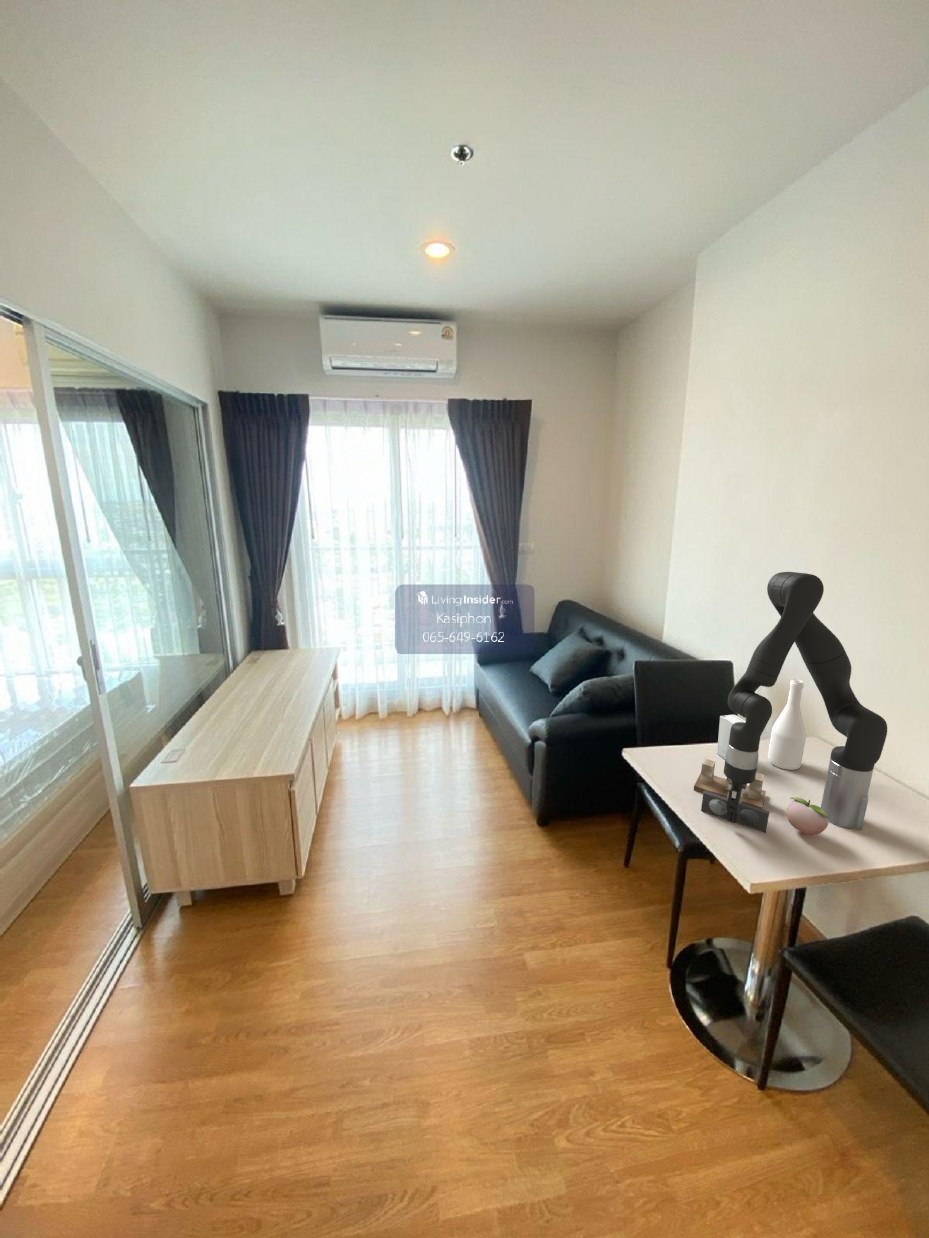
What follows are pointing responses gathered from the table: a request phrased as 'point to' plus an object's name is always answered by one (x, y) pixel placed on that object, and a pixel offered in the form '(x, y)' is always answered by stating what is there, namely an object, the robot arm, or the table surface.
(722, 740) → the skincare box
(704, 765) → the wooden peg rack
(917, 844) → the table surface
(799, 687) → the wine bottle
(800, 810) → the decorative fruit
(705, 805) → the dark flat rectangular bar
